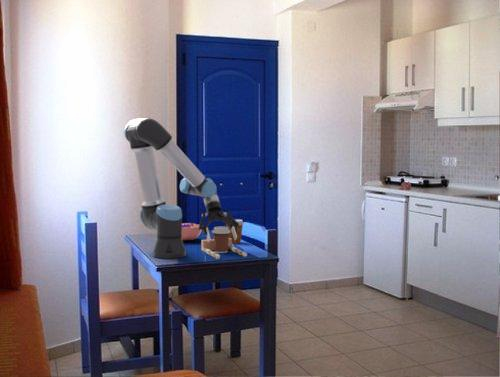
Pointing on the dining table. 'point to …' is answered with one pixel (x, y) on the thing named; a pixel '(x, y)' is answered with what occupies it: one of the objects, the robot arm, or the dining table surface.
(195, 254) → the dining table surface
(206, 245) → the end stop
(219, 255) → the track rails
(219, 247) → the coffee cup
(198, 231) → the cell model
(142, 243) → the dining table surface
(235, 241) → the disposable coffee cup
